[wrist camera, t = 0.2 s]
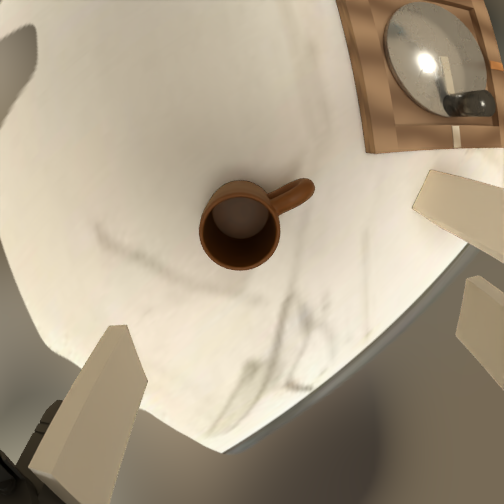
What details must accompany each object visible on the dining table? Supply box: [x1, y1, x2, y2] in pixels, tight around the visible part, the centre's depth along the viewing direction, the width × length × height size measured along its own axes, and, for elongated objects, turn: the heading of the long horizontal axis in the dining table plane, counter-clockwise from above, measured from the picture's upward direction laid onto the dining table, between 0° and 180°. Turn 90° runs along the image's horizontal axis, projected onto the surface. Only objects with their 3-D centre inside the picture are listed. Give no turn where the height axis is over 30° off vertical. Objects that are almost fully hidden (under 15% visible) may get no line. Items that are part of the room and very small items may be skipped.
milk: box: [412, 170, 504, 263], centre depth 27 cm, size 6×6×22 cm
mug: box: [199, 178, 315, 271], centre depth 33 cm, size 12×8×9 cm, turn 122°
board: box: [336, 0, 504, 154], centre depth 29 cm, size 24×24×3 cm
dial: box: [384, 2, 496, 117], centre depth 25 cm, size 16×16×8 cm
